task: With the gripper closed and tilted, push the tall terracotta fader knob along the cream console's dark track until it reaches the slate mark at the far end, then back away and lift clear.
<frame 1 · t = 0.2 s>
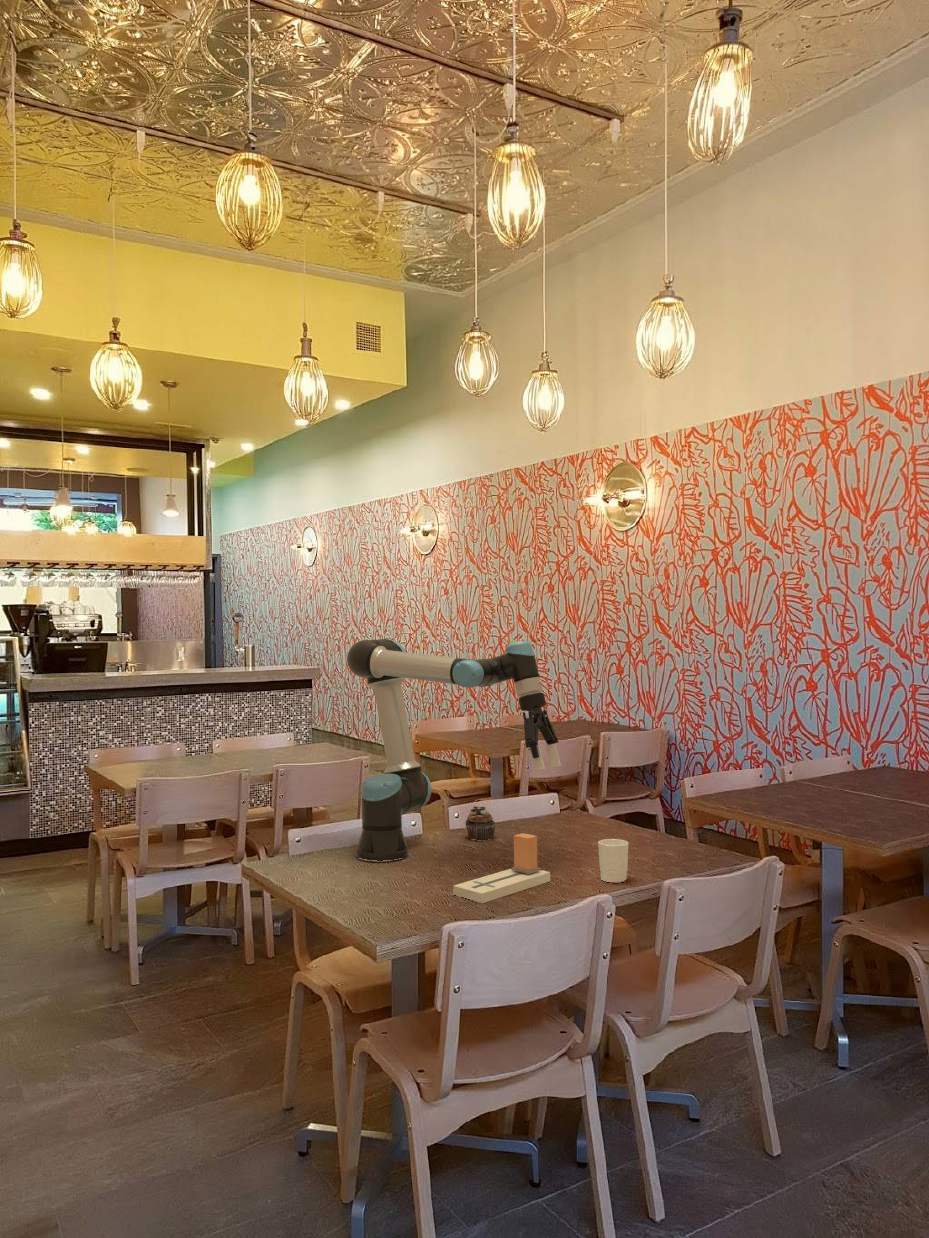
hand: (548, 768, 253), 27 cm above the table, tool tilted 15°, fingers open, 13 cm apart
cupcake: (480, 839, 287), on the table
fader console: (502, 888, 231), on the table
fader knob: (525, 852, 238), point 7 cm above the table, slide at 0.0 cm
white cup: (613, 881, 237), on the table
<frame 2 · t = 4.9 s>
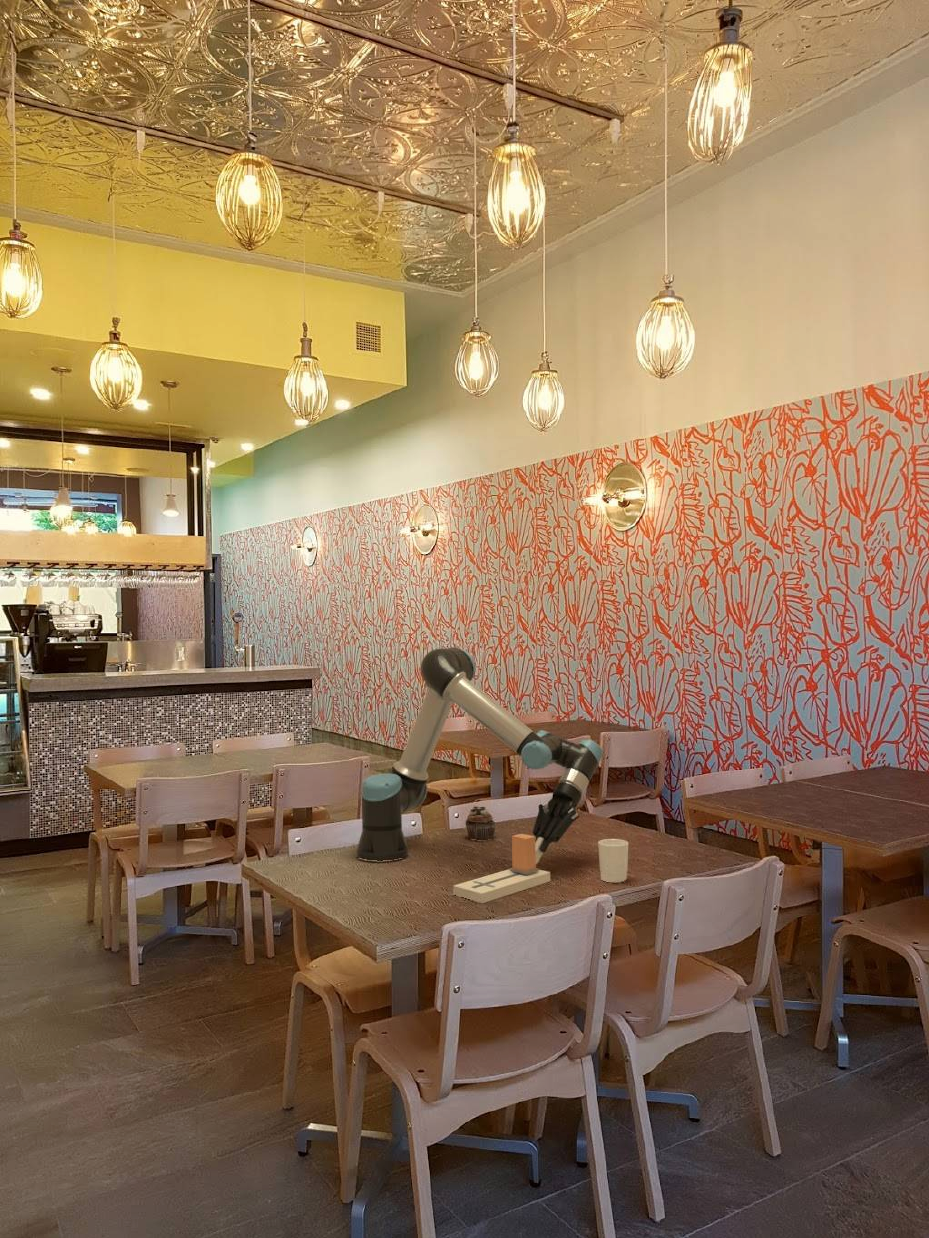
hand: (532, 860, 239), 5 cm above the table, tool tilted 45°, fingers closed
fader knob: (523, 853, 237), point 7 cm above the table, slide at 0.7 cm, touching gripper
everything else where it was.
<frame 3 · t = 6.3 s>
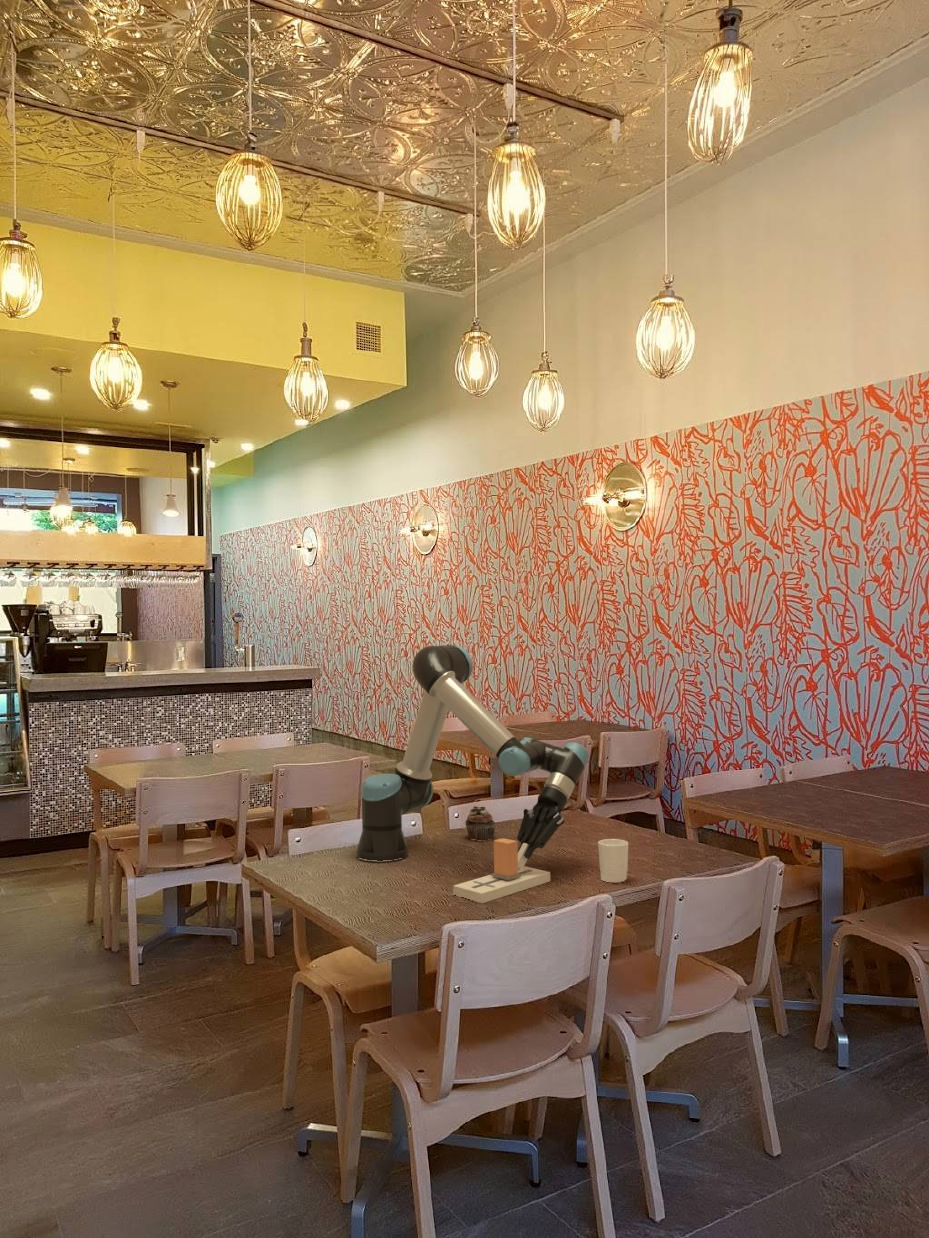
hand: (516, 867, 234), 5 cm above the table, tool tilted 45°, fingers closed
fader knob: (505, 858, 232), point 7 cm above the table, slide at 7.8 cm, touching gripper
everything else where it was.
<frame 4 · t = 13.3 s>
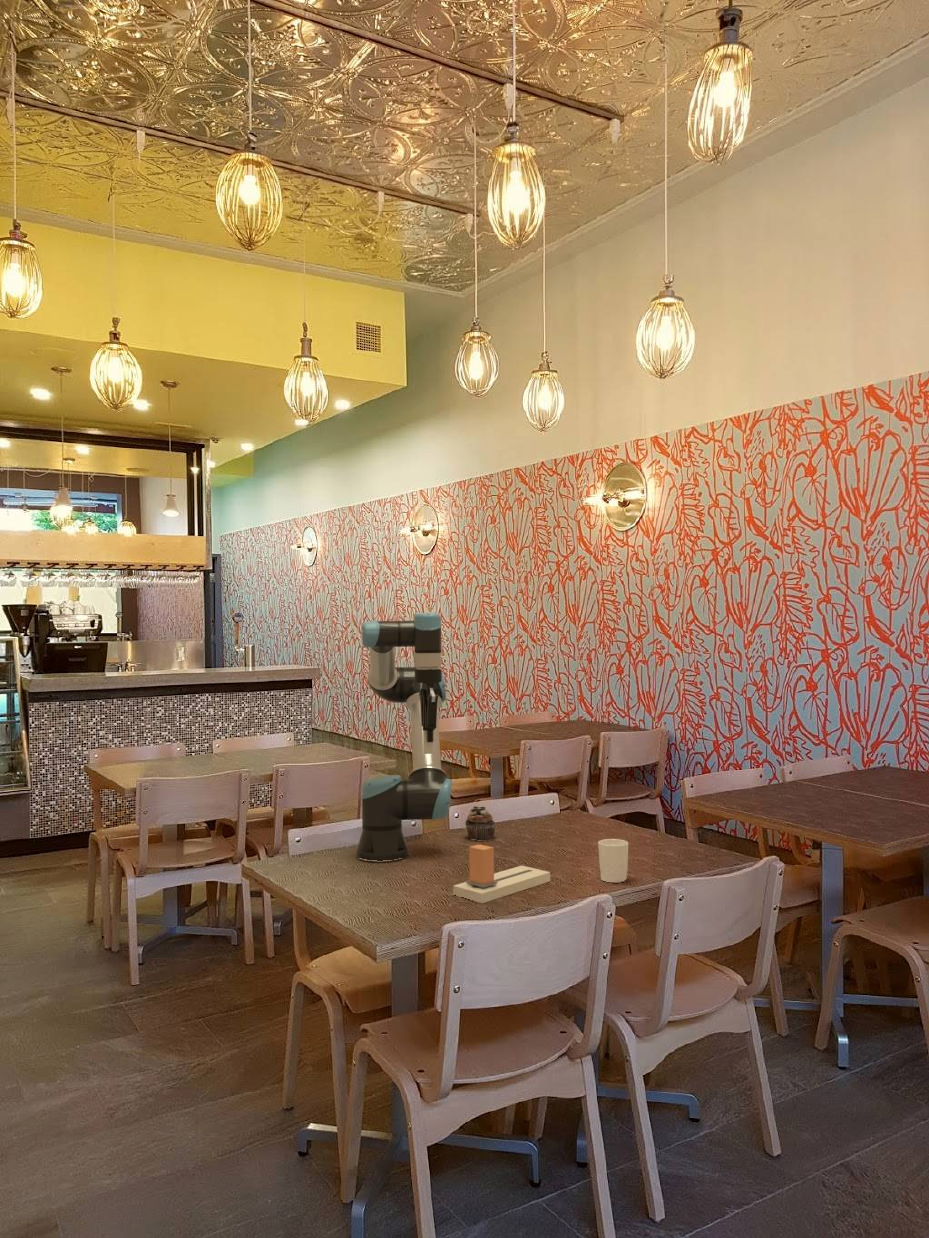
hand: (429, 753, 249), 32 cm above the table, tool pointing down, fingers closed
fader knob: (481, 865, 226), point 7 cm above the table, slide at 16.8 cm
everything else where it was.
at the end: fader knob slide at 16.8 cm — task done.
